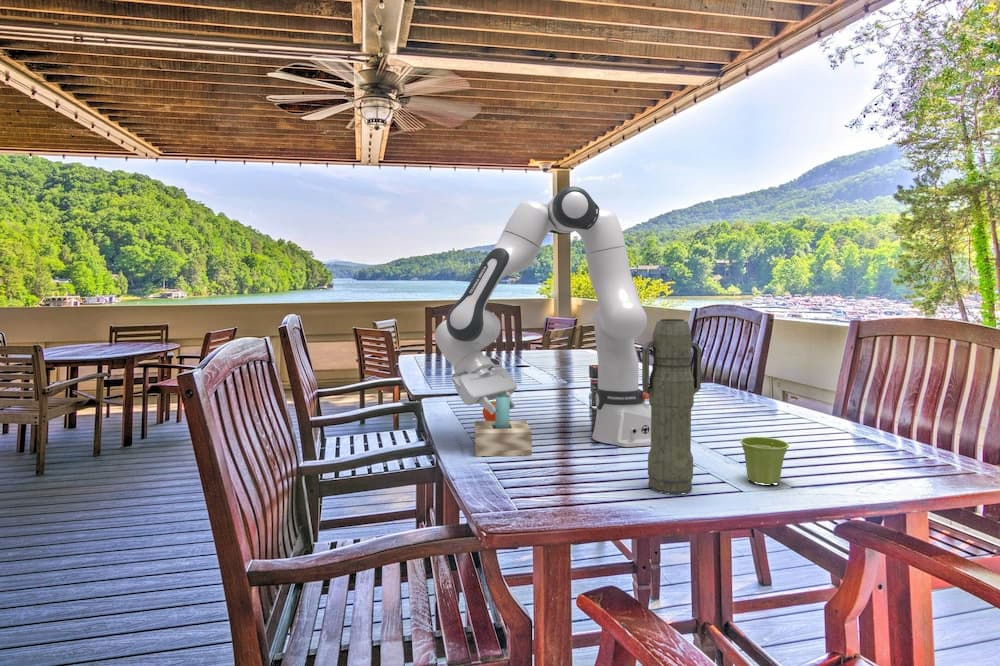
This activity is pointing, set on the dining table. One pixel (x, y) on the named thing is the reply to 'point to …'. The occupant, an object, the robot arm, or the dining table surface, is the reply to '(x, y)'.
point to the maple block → (503, 439)
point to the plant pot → (764, 458)
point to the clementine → (489, 416)
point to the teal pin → (502, 412)
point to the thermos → (671, 404)
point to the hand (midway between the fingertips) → (503, 410)
